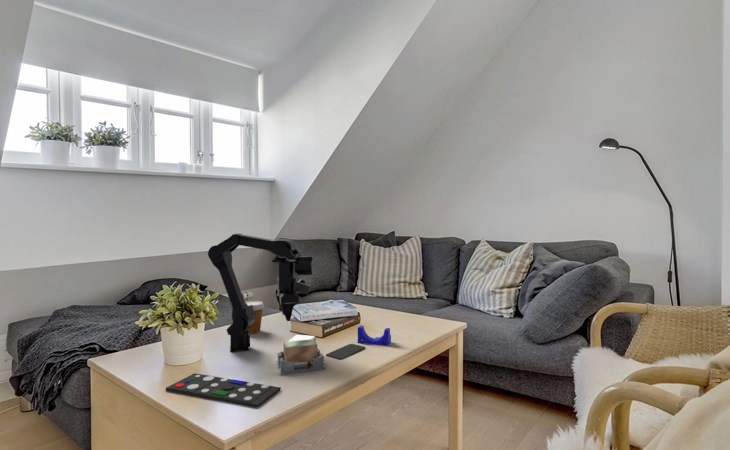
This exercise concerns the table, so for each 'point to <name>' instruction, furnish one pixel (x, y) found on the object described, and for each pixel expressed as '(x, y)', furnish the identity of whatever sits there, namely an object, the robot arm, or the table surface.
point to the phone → (345, 351)
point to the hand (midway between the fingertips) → (286, 317)
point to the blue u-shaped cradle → (381, 340)
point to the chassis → (300, 364)
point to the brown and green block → (300, 350)
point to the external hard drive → (302, 338)
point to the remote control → (224, 390)
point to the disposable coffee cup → (256, 316)
